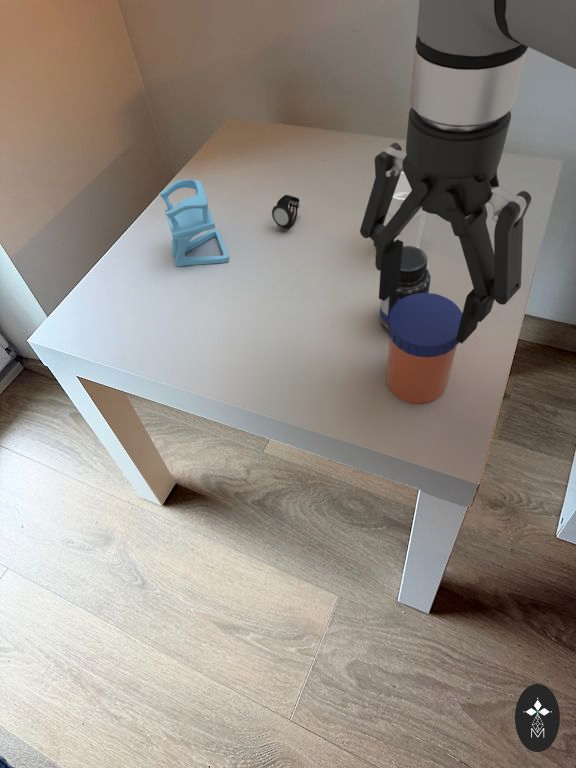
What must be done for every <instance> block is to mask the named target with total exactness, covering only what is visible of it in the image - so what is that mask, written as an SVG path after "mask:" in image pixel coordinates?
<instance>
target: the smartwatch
mask: <svg viewBox="0 0 576 768" xmlns="http://www.w3.org/2000/svg"><path fill="white" fill-rule="evenodd" d="M300 205H301V204H300V199H299V197H296V196H292V195H290V194H284V195H283V196H282V197H280V199H278V201H277V203H276V205H274V206H273V208H272V210H271V217H272V220H273V221H274V223H275V224H276V225H277V227H279V228H283V229H285V230H289V229H291V228H293V226H294V225H295V223H296V221H297V217H298V211H299V210H298V209H300Z"/></svg>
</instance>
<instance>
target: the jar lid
mask: <svg viewBox="0 0 576 768" xmlns="http://www.w3.org/2000/svg"><path fill="white" fill-rule="evenodd" d="M462 313H463V311H462V310H461V308H460V307H459V306H458V305H457V304H456V303H455V302H454V301H453V300H451V299H449V298H447V297H446V296H442V295H440V294H437V293H432V292H429V293H417V294H412V295H409V296H406V297H404V298H402V299H401V300H399V301H398V302H397V303H396V304H395V305H394V306H393V308H392V310H391V312H390V315H389V321H388V329H389V331H388V336H389V337H390V338H391V340H392V341H393V343H394V344H395V345H396V346H397V347H398V348H399V349H401V350H402V351H404V352H406V353H407V354H411V355H414V356H418V357H426V358H427V357H437V356H440V355H443V354H446V353H447V352H449V351H451V350H453V348H454V347H455V346H456V345H457V346H458V344H459V343H460V342H458V341H456V337H457V333H458V329H459V325H460V321H461V317H462Z"/></svg>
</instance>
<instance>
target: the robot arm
mask: <svg viewBox="0 0 576 768" xmlns="http://www.w3.org/2000/svg"><path fill="white" fill-rule="evenodd" d="M417 12H418V13H417V24H416V35H415V46H414V53H413V54H414V55H413V63H412V64H413V65H412V73H411V74H412V75H411V85H410V93H409V94H410V95H409V102H410V109H409V111H408V119H407V120H408V121H407V129H406V130H407V131H406V140H405V141H406V142H405V151H403V149H402V146H401V145H400V144H399V143H397V142H393V143H391V144H390V145H389V146H388V147H387V146H386V148H385V149H383V150H381V152H379V153H378V154H376V156H375V157H374V174H375V178H374V181H373V185H372V188H371V191H370V194H369V199H368V201H367V205H366V209H365V211H364V215H363V219H362V222H361V225H360V229H359V233H360V235H361V236H362V238H364V239H370V240H371V241H373V245H374V247H375V261H374V265H375V268H376V270H378V271H379V272H380V273H379V288H378V299H379V300H380V299H381V300H383V301H385V300H386V299H387V298H388V297H389V296H390V295H391V294H392V293H393V292H394V291H396V290H397V289H398V288H399V279H400V270H401V260H402V250H403V242H402V241H400V240H398V239H397V240H396V241H395V242H394V239H395V238H396V237H397V236H398V235H399V234H400V232H401V231H402V230H403V229H404V227H405V226H406V225H407V224H408V223H409V221H410V220H411V219H412V218H413V217H414V215H415V214H416V213H417V212H418V211H419V209H420V208H421V207H422V210H423V211H425V212H427V213H428V214H432V215H437V216H438V217H440V218H441V219H442V220H444V221H446V222H448V223H450V226H451V229H452V233H453V235H454V236H455V237H458V239H459V242H460V246H461V251H462V253H463V256H464V259H465V264H466V267H467V270H468V273H469V277H470V280H471V283H472V287H473V288H472V290H471V291H470V292H469V293H468V294H467V295H466V297H465V302H464V306H463V309H462V317H461V321H460V325H459V329H458V333H457V337H456V341H458V342H459V343H460V344H461V345H462V344H464V342H466V340H468V338H469V337H470V336H471V335H472V334H473V333H474V332H475V331H476V330H477V327H478V323H481V322H483V321H484V320H485V318H486V317H487V316H489V314H490V313H491V312H492V309H493V306H494V302H496V303H497V304H499V305H501V306H504V305H506V304H507V303H508V302H509V301H510V300H511V299H512V298H513V297H514V295H515V294H516V293H517V292H518V291H519V290H520V289H521V287H522V268H523V267H522V266H523V242H524V241H523V240H524V239H523V238H524V236H523V235H524V217H525V215H526V214H527V211H528V209H529V206H530V205H531V202H532V196H531V194H530V193H529V192H528V191H526V190H521V191H519V192H518V193H517V194H514V193H512V192H510V191H508V190H506V189H505V188H502V187H500V182H499V177H498V168H499V165H500V163H501V159H502V156H503V151H504V148H505V144H506V140H507V136H508V131H509V128H510V123H511V119H512V113H511V112H512V109H513V107H514V105H515V102H516V98H517V96H518V95H517V94H518V90H519V86H520V81H521V78H522V74H523V71H524V70H523V69H524V65H525V62H526V57H527V53H528V49H531V50H534V51H536V52H537V53H540V54H543V55H545V56H547V57H549V58H551V59H553V60H555V61H557V62H560V63H561V64H564V65H565V66H568V67H569V68H572V69H575V70H576V0H418V11H417ZM401 172H404V173H405V176H406V178H407V180H408V182H409V185H410V187H411V189H412V191H411V192H410V194H409V195H408V196H407V197H406V199H405V200H404V201H403V203H402V204H401V205H400V206H401V207H400V208H399V209H398V211H397V212H396V213H395V215H394V216H393V217H392V218H391V220H390V221H389V222H388V224H387V225H386V226H385V218H386V215H387V212H388V210H389V207H390V204H391V201H392V198H393V195H394V192H395V189H396V186H397V183H398V181H399V178H400V174H401ZM488 203H489V204H491V206H492V208H493V214H492V217H491V218H492V221H494V222H495V226H494V230H493V232H494V233H493V241H494V242H493V245H492V240H491V237H490V232H489V229H488V225H487V219H488V210H487V206H486V205H487V204H488ZM427 213H426V214H427Z"/></svg>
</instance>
